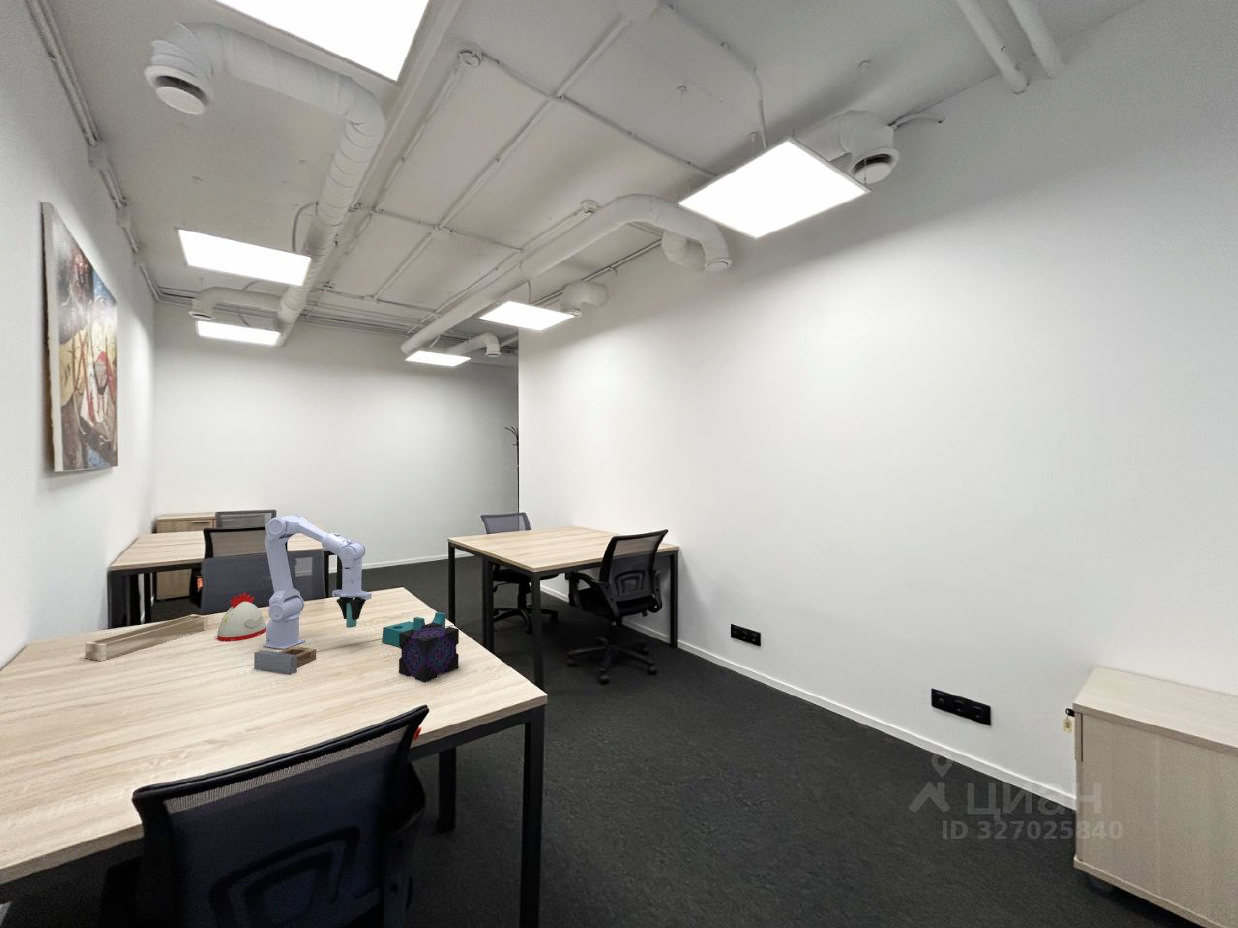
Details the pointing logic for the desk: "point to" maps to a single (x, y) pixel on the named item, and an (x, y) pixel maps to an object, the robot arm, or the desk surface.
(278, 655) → the wall
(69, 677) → the desk surface
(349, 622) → the dowel
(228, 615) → the kitchen timer
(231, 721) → the desk surface
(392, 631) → the teal l-shaped bracket
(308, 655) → the socket block
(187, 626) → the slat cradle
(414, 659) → the energy cube
